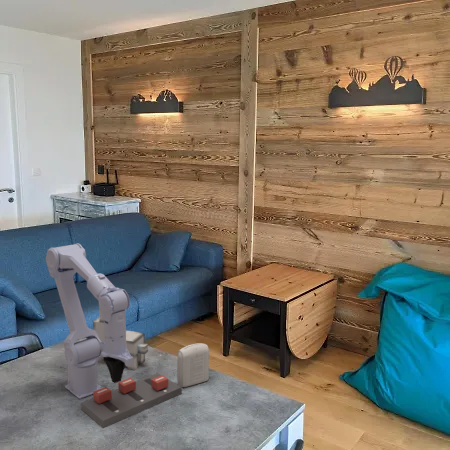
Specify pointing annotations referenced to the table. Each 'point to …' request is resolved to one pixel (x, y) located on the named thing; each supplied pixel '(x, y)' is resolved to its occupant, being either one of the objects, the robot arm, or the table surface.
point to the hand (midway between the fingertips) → (116, 381)
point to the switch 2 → (127, 385)
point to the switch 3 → (159, 382)
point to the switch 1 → (102, 395)
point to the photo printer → (193, 364)
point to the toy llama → (133, 342)
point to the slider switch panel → (129, 401)
